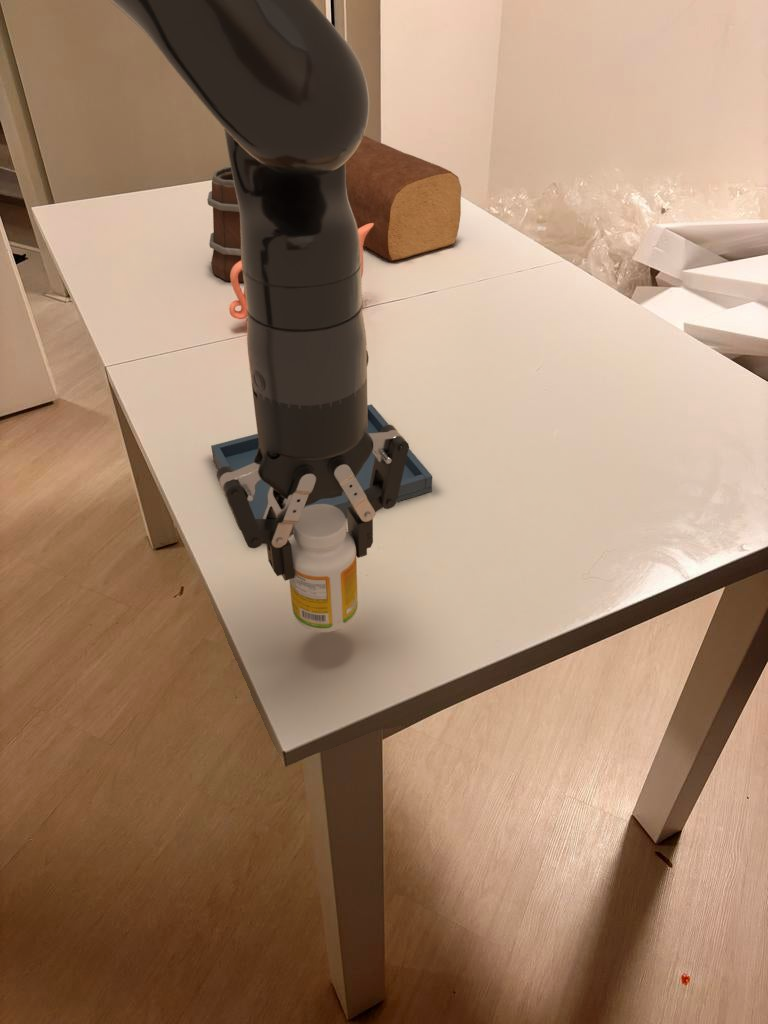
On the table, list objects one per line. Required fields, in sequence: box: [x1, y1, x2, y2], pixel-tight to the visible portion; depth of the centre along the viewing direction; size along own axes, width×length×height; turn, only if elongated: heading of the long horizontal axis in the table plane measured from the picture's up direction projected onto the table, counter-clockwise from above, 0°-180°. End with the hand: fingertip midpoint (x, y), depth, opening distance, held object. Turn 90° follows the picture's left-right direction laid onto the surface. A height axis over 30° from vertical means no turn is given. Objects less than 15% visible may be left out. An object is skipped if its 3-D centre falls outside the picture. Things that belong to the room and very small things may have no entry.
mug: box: [207, 166, 244, 283], centre depth 128 cm, size 16×12×15 cm
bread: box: [345, 135, 462, 262], centre depth 142 cm, size 16×39×13 cm, turn 34°
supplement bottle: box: [288, 504, 359, 633], centre depth 63 cm, size 5×5×10 cm
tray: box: [210, 403, 433, 535], centre depth 87 cm, size 20×16×2 cm
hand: (321, 560), depth 63 cm, fingers closed on supplement bottle, 5 cm apart
